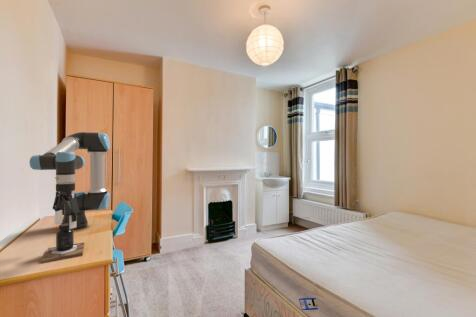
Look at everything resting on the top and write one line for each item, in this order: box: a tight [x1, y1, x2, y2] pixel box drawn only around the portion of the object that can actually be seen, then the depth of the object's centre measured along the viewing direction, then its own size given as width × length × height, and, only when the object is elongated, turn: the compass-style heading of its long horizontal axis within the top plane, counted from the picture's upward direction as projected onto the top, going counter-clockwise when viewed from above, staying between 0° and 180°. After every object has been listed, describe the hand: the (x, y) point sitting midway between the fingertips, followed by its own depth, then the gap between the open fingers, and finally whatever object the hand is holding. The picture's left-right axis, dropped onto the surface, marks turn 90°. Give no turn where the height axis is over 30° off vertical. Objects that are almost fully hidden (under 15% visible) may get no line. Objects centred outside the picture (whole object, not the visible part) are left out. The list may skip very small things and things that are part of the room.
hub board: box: [40, 242, 85, 264], centre depth 109 cm, size 16×15×2 cm
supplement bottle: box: [55, 223, 75, 251], centre depth 109 cm, size 7×7×12 cm
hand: (65, 225), depth 109 cm, fingers open, 13 cm apart
